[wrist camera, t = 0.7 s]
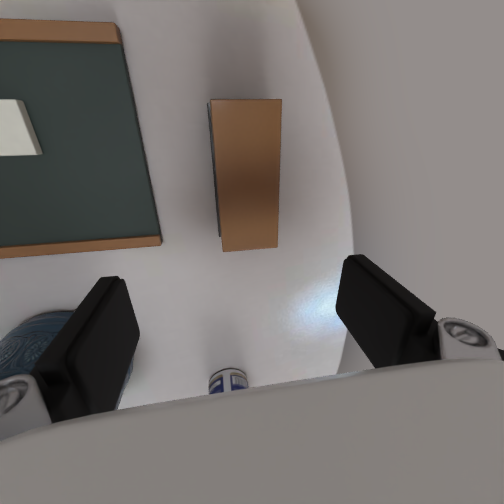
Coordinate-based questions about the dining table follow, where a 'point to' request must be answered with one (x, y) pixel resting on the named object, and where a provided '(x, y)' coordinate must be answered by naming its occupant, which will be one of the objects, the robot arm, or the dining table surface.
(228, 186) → the eraser
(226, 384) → the pill bottle
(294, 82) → the dining table surface
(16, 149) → the white flat block
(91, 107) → the board
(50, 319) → the canister
